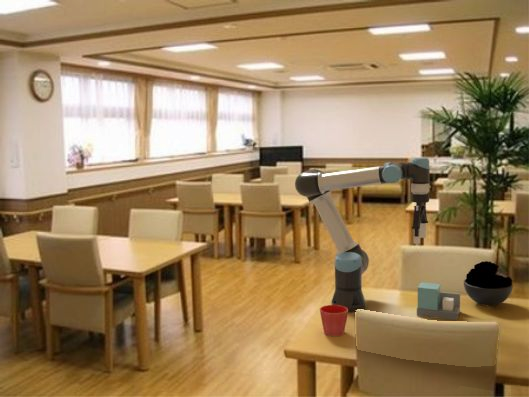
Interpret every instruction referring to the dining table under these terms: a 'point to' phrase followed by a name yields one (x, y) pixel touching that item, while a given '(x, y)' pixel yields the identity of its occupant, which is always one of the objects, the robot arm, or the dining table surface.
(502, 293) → the bowl of black rocks
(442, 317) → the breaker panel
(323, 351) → the dining table surface
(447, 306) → the plain button
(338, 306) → the flower pot
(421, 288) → the cover
